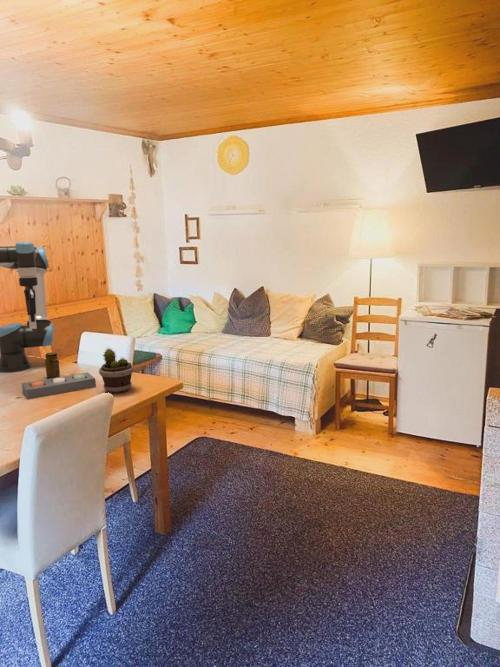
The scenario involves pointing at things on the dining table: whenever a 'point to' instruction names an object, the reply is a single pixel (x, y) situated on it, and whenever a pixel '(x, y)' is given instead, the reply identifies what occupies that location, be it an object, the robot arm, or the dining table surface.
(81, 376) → the button sage
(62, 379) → the button white
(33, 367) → the dining table surface
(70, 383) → the console
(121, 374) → the flowerpot
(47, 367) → the condiment
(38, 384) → the button rust
